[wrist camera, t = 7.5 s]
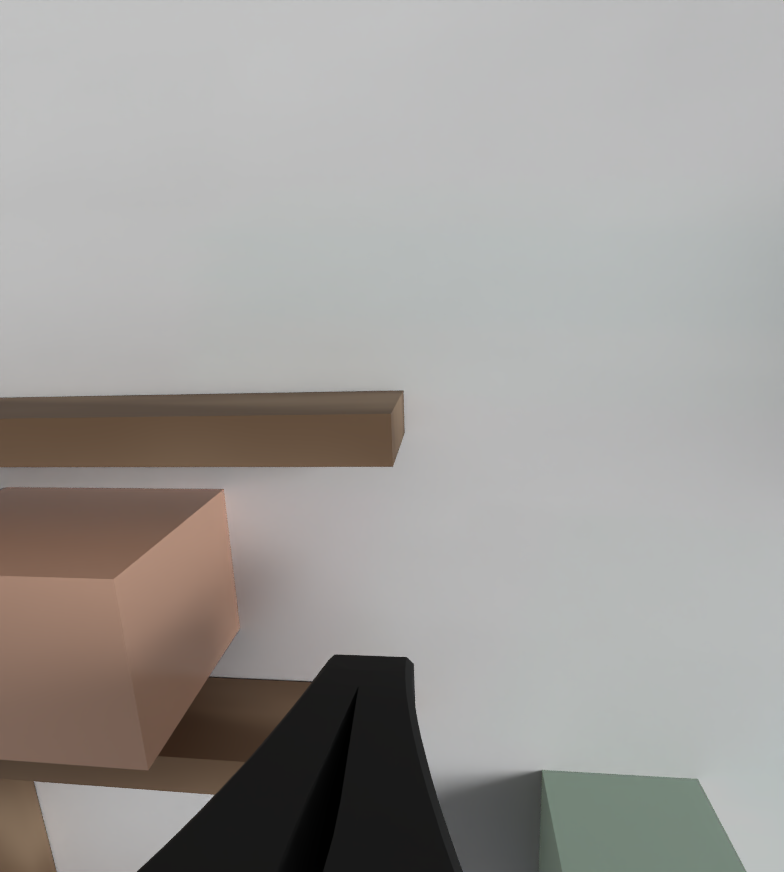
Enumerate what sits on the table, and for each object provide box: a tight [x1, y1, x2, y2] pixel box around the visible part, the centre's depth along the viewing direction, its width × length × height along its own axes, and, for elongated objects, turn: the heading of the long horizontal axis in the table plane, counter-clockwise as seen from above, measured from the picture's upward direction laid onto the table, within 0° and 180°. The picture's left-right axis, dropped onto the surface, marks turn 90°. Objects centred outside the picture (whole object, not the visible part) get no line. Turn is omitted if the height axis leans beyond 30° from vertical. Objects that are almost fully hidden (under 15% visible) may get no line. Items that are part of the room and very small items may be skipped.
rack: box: [0, 391, 405, 872], centre depth 13 cm, size 17×13×3 cm
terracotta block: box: [0, 487, 240, 770], centre depth 12 cm, size 4×6×4 cm, turn 92°
